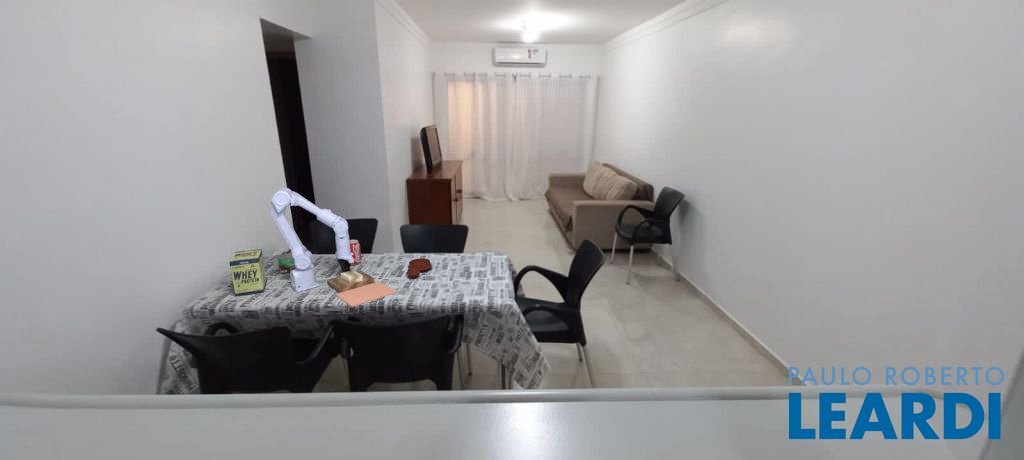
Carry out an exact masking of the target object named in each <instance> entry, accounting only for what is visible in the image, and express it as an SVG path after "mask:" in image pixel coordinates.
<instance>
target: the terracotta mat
mask: <svg viewBox="0 0 1024 460" xmlns="http://www.w3.org/2000/svg"><path fill="white" fill-rule="evenodd" d="M374 282H375V281H374ZM396 293H398V291H397V290H395V289H394V288H392V287H390V286H388V285H387V284H385V283H383V282H381V281H376V282H375V283H372V284H368V285H365V286H362V287H358V288H355V289H351V290H348V291H344V292H341V293H338V292H337V293H335V296H336V297H337V298H339V299H340V300H342V301H343V302H344V303H346V304H347V305H348V306H351V307H357V306H359V305H363V304H366V303H369V302H372V301H375V300H379V299H381V298H385V297H387V296H391V295H393V294H396Z"/></svg>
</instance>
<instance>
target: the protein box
mask: <svg viewBox="0 0 1024 460" xmlns="http://www.w3.org/2000/svg"><path fill="white" fill-rule="evenodd" d="M228 263H229V266H230V274H231V279H232V284H233V289H234V294H235V297H243V296H249V295H257V294H262V293H265V289H266V287H267V286H266V285H267V281H268V279H267V273H266V267H265V262H264V254H263V249H262V248H259V249H250V250H241V251H235V252H234V253H233V255H232V257H231V259H230V260H229V262H228Z"/></svg>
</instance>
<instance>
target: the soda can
mask: <svg viewBox="0 0 1024 460" xmlns="http://www.w3.org/2000/svg"><path fill="white" fill-rule="evenodd" d="M349 241H350V250H351V253H353V254H354V255H352V257H353V258H354V262H353V263H351V266H357V265H360V263H361V262H362V253H361V252H362V251H361V245H360V242H359V240H358V239H349Z"/></svg>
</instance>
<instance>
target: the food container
mask: <svg viewBox="0 0 1024 460" xmlns="http://www.w3.org/2000/svg"><path fill="white" fill-rule="evenodd" d="M276 260H277V263H278V268H279V271H280V274H281V275H284V274H290V271H292V270H294V269H296V266H295V261H294V258H293V256H292V251H291V249H290V248H289V249H287V250H286V251H283V252H282V253H280V254H276Z"/></svg>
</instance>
